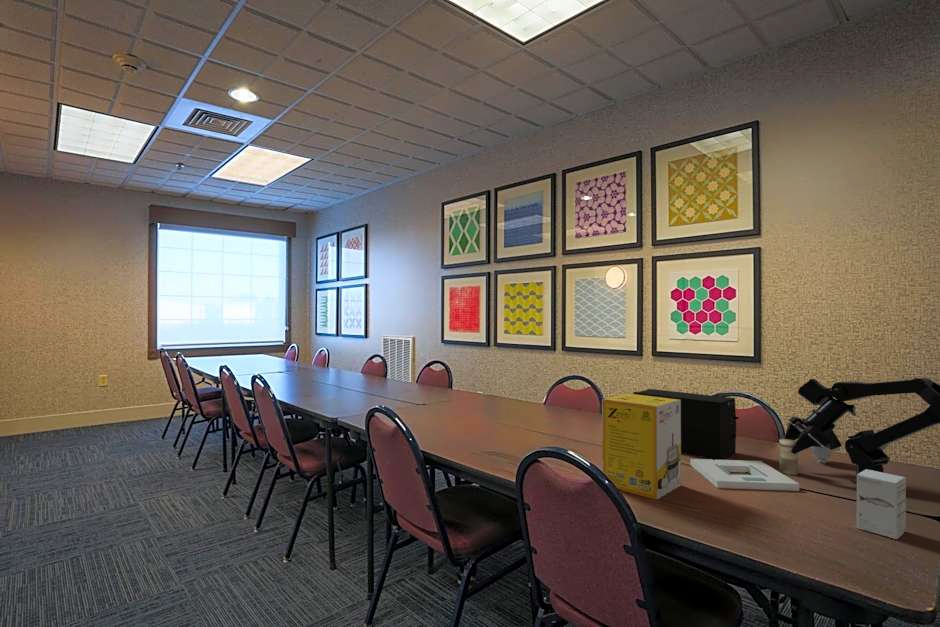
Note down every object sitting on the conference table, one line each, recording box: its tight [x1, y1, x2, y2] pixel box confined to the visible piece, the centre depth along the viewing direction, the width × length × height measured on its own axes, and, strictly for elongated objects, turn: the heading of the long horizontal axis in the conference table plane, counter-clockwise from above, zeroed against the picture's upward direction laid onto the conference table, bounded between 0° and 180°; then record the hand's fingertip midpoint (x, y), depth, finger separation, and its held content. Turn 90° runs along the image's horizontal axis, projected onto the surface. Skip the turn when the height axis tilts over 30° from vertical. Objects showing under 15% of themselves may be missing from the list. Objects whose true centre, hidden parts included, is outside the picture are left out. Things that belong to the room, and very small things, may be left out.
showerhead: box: [808, 445, 840, 464], centre depth 162 cm, size 9×7×10 cm
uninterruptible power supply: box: [632, 388, 740, 460], centre depth 179 cm, size 16×34×20 cm, turn 43°
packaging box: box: [601, 393, 682, 501], centre depth 139 cm, size 16×16×25 cm
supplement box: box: [856, 469, 907, 540], centre depth 109 cm, size 7×7×13 cm
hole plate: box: [689, 458, 800, 492], centre depth 147 cm, size 22×22×2 cm
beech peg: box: [778, 438, 799, 476], centre depth 151 cm, size 5×5×10 cm
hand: (787, 448), depth 152 cm, fingers open, 9 cm apart
